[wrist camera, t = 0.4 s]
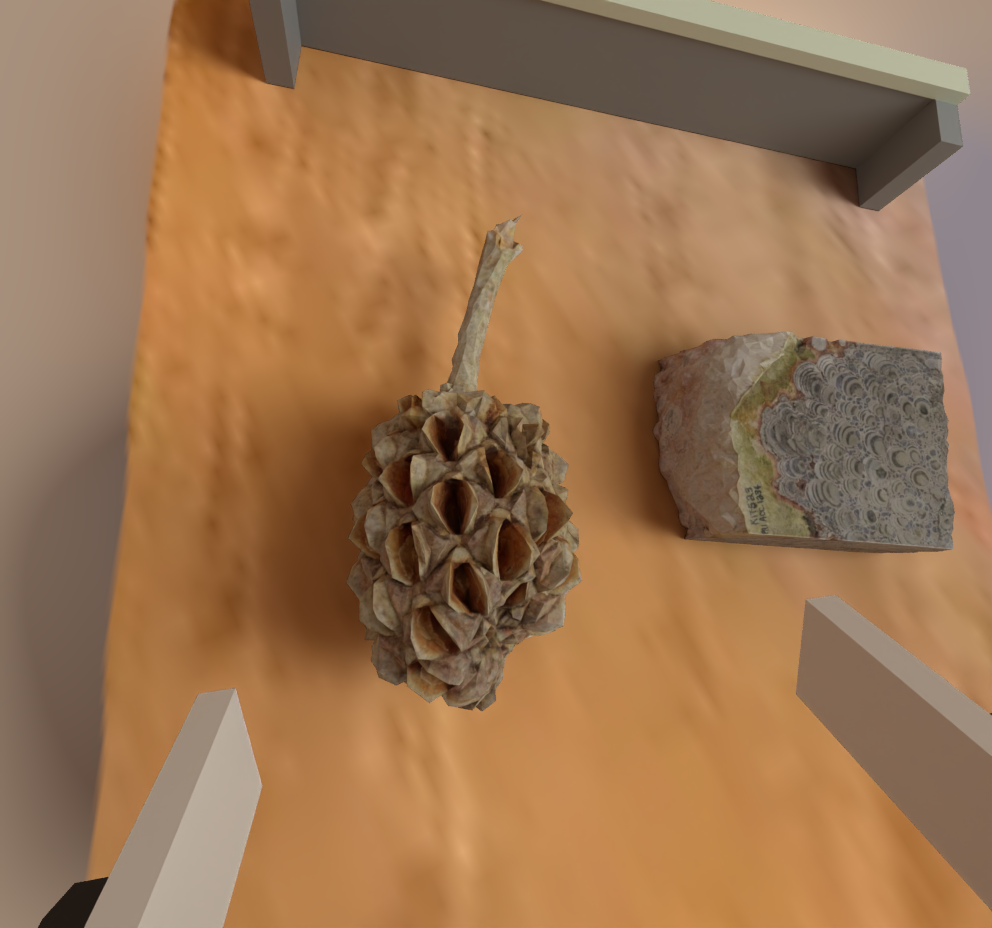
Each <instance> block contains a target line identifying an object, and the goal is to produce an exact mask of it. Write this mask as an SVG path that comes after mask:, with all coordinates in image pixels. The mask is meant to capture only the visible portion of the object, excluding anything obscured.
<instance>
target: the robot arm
mask: <svg viewBox="0 0 992 928" xmlns="http://www.w3.org/2000/svg"><path fill="white" fill-rule="evenodd" d="M796 695H797V696H798V697H799V698H800V699H801V700H802V701H803V702H804V703H805V705H806V706H807V707H808V708H809V709H810V710H811V711H812V712H813V713H814V715H815V716H816V717H817V718H818V719H819V720H820V721H821V722H822V723H823V725H824V726H825V727H826V728H827V729H828V730H829V731H830V732H831V733H832V735H833V736H834V737H835V738H836V739H837V740H838V741H839V742H840V743H841V744H842V746H843V747H844V748H845V749H846V750H847V751H848V752H849V753H850V754H851V756H852V757H853V758H854V759H855V760H856V761H857V762H858V763H859V764H860V766H861V767H862V768H863V769H864V770H865V771H866V772H867V773H868V774H869V776H870V777H871V778H872V779H873V780H874V781H875V782H876V783H877V784H878V785H879V787H880V788H881V789H882V790H883V791H884V792H885V793H886V794H887V795H888V797H889V798H890V799H891V800H892V801H893V802H894V803H895V804H896V805H897V807H898V808H899V809H900V810H901V811H902V812H903V813H904V814H905V815H906V817H907V818H908V819H909V820H910V821H911V822H912V823H913V824H914V825H915V826H916V828H917V829H918V830H919V831H920V832H921V833H922V834H923V835H924V836H925V838H926V839H927V840H928V841H929V842H930V843H931V844H932V845H933V846H934V848H935V849H936V850H937V851H938V852H939V853H940V854H941V855H942V856H943V858H944V859H945V860H946V861H947V862H948V863H949V864H950V865H951V866H952V867H953V869H954V870H955V871H956V872H957V873H958V874H959V875H960V876H961V877H962V879H963V880H964V881H965V882H966V883H967V884H968V885H969V886H970V887H971V889H972V890H973V891H974V892H975V893H976V894H977V895H978V896H979V897H980V899H981V900H982V901H983V902H984V903H985V904H986V905H987V906H988V907H989V908H990V910H991V911H992V713H990V714H989V713H988V712H986V711H985V710H984V709H983V708H981V707H980V706H979V705H977V704H976V703H975V702H974V701H972V700H971V699H970V698H968V697H967V696H966V695H964V694H963V693H962V692H961V691H959V690H958V689H957V688H955V687H954V686H953V685H952V684H950V683H949V682H948V681H946V680H945V679H944V678H942V677H941V676H940V675H939V674H937V673H936V672H935V671H933V670H932V669H931V668H930V667H928V666H927V665H926V664H924V663H923V662H922V661H920V660H919V659H918V658H917V657H915V656H914V655H913V654H911V653H910V652H909V651H908V650H906V649H905V648H904V647H902V646H901V645H900V644H899V643H897V642H896V641H895V640H893V639H892V638H891V637H889V636H888V635H887V634H886V633H884V632H883V631H882V630H880V629H879V628H878V627H877V626H875V625H874V624H873V623H871V622H870V621H869V620H867V619H866V618H865V617H864V616H862V615H861V614H860V613H858V612H857V611H856V610H855V609H853V608H852V607H851V606H849V605H848V604H847V603H845V602H844V601H843V600H842V599H840V598H839V597H838V596H836V595H831V596H825V597H818V598H812V599H806V601H805V611H804V621H803V630H802V640H801V649H800V659H799V669H798V678H797V688H796ZM261 789H262V783H261V779H260V776H259V772H258V768H257V765H256V761H255V757H254V754H253V750H252V746H251V743H250V739H249V735H248V732H247V728H246V724H245V721H244V717H243V714H242V710H241V706H240V703H239V699H238V695H237V692H236V688H232V689H225V690H219V691H213V692H206V693H200V694H198V696H197V698H196V700H195V702H194V704H193V706H192V708H191V710H190V712H189V714H188V716H187V718H186V720H185V722H184V724H183V726H182V728H181V730H180V732H179V734H178V736H177V739H176V741H175V743H174V745H173V747H172V749H171V751H170V753H169V755H168V757H167V759H166V761H165V763H164V765H163V767H162V769H161V771H160V773H159V775H158V777H157V779H156V782H155V784H154V786H153V788H152V790H151V792H150V794H149V796H148V798H147V800H146V802H145V804H144V806H143V808H142V810H141V812H140V814H139V816H138V818H137V820H136V822H135V825H134V827H133V829H132V831H131V833H130V835H129V837H128V839H127V841H126V843H125V845H124V847H123V849H122V851H121V853H120V855H119V857H118V859H117V861H116V863H115V865H114V867H113V870H112V872H111V874H110V876H109V877H106V878H100V879H95V880H89V881H84V882H79V883H75V884H74V885H73V886H72V887H71V888H70V889H69V890H68V891H67V892H66V894H65V895H64V896H63V897H62V898H61V899H60V900H59V901H58V902H57V903H56V905H55V906H54V907H53V908H52V909H51V910H50V911H49V913H48V914H47V915H46V916H45V917H44V918H43V919H42V921H41V923H40V925H39V927H38V928H223V925H224V921H225V918H226V914H227V911H228V907H229V904H230V900H231V896H232V893H233V889H234V886H235V882H236V879H237V875H238V871H239V868H240V864H241V861H242V857H243V854H244V850H245V846H246V843H247V839H248V836H249V832H250V828H251V825H252V821H253V818H254V814H255V811H256V807H257V803H258V800H259V796H260V793H261Z"/></svg>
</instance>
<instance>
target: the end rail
mask: <svg viewBox="0 0 992 928" xmlns="http://www.w3.org/2000/svg"><path fill="white" fill-rule="evenodd" d="M249 3H250V8H251V13H252V18H253V22H254V27H255V32H256V37H257V41H258V46H259V51H260V56H261V61H262V65H263V70H264V75H265V80H266V83H270V84H274V85H279V86H284V87H289V88H293V89H294V86H295V80H296V75H297V69H298V63H299V57H300V51H301V45H302V46H306V47H311V48H315V49H320V50H324V51H329V52H333V53H338V54H342V55H347V56H351V57H356V58H360V59H365V60H369V61H374V62H378V63H383V64H387V65H392V66H396V67H401V68H405V69H410V70H414V71H419V72H423V73H428V74H432V75H437V76H441V77H446V78H450V79H455V80H459V81H464V82H468V83H473V84H477V85H482V86H486V87H491V88H495V89H500V90H504V91H509V92H513V93H518V94H522V95H527V96H531V97H536V98H540V99H545V100H549V101H554V102H558V103H563V104H568V105H572V106H577V107H581V108H586V109H590V110H595V111H599V112H604V113H608V114H613V115H617V116H622V117H626V118H631V119H635V120H640V121H644V122H649V123H653V124H658V125H662V126H667V127H671V128H676V129H680V130H685V131H689V132H694V133H698V134H703V135H707V136H712V137H716V138H721V139H725V140H730V141H734V142H739V143H743V144H748V145H752V146H757V147H761V148H766V149H770V150H775V151H779V152H784V153H788V154H793V155H797V156H802V157H806V158H811V159H815V160H820V161H824V162H829V163H834V164H838V165H843V166H847V167H852V168H856V173H857V184H858V195H859V206H860V207H863V208H868V209H873V210H877V211H879V210H881V209H882V208H883V207H885V206H886V205H887V204H889V203H890V202H891V201H892V200H894V199H895V198H896V197H898V196H899V195H900V194H902V193H903V192H904V191H905V190H907V189H908V188H909V187H911V186H912V185H913V184H915V183H916V182H917V181H918V180H920V179H921V178H922V177H924V176H925V175H926V174H928V173H929V172H930V171H931V170H933V169H934V168H935V167H937V166H938V165H939V164H941V163H942V162H943V161H945V160H946V159H947V158H948V157H950V156H951V155H952V154H954V153H955V152H956V151H957V150H959V149H960V148H961V147H963V141H962V134H961V127H960V120H959V113H958V106H957V105H958V104H959V103H961V102H962V101H963V100H964V99H965V98H966V97H968V96H969V95H970V88H969V82H968V76H967V69H966V68H962V67H958V66H954V65H950V64H947V63H943V62H939V61H935V60H932V59H928V58H924V57H920V56H917V55H913V54H909V53H905V52H902V51H898V50H894V49H890V48H887V47H883V46H879V45H875V44H872V43H868V42H864V41H860V40H856V39H853V38H849V37H845V36H841V35H838V34H834V33H830V32H826V31H823V30H819V29H815V28H811V27H808V26H804V25H800V24H796V23H792V22H789V21H785V20H781V19H777V18H774V17H770V16H766V15H762V14H759V13H755V12H751V11H747V10H743V9H740V8H736V7H732V6H728V5H725V4H721V3H717V2H713V1H710V0H249Z"/></svg>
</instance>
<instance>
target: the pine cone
mask: <svg viewBox="0 0 992 928" xmlns="http://www.w3.org/2000/svg"><path fill="white" fill-rule="evenodd" d="M520 217H521V215H520V216H519V217H517V218H515V219H514V220H508V221H506V222H504V223H502V224H498V225H496V227H495V229H494V230H492V231H487V236H486V240H485V244H484V247H483V251H482V254H481V258H480V261H479V265H478V269H477V274H476V278H475V283H474V287H473V289H472V292H471V295H470V298H469V301H468V306H467V311H466V314H465V317H464V320H463V322H462V325H461V328H460V330H459V333H458V345H457V348H456V350H455V353H454V355H453V358H452V364H453V368H452V372H451V374H450V377H449V379H448V382H447V383H445V384H442V385H441V386H440V392H436V391H433V390H429V389H427V390H425V391H424V392H422V400H421V399H420V398H419V397H418V396H416V395H415V396H411V395H408V396H406V397H404V398H401V399H399V400H397V401H398V407H399V413H400V414H397V415H396V416H394V417H393V418H392V419H391V420H388V421H386V422H383V423H380V424H379V425H377V426H376V427H375V428H373V429H372V430H371V436H372V450H371V451H370V452H369V453H368V454H366V455H365V457H364V459H363V461H362V463H361V464H362V465H363V466H364V468H365V469H366V470H367V471H368V472H369V473H370V474H371V475H372V476H373V477H372V478H371V479H370V481H369V482H368V484H367V485H366V486H365V487H364V488H363V489H362V490H361V491H360V492H359V494H358V495H357V496H356V498H355V499H354V500H353V502H352V503H351V506H352V509H353V511H354V516H353V521H354V522H355V525H354V527H353V529H352V531H351V533H350V535H349V537H348V538H349V539H350V540H351V541H352V542H353V543H354V544H355V545H356V546H357V547H358V548H359V549H360V550H361V552H360V554H359V555H358V557H357V559H358V561H357V562H356V563H355V564H354V565H353V566H352V568H351V571H350V574H349V577H348V580H347V582H346V583H347V584H348V586H349V587H350V588H351V590H352V591H353V592H354V593H355V595H356V596H357V598H358V599H359V601H360V603H359V621H360V622H361V623H363V624H364V625H365V626H366V636H365V640H375V642H374V643H373V645H372V657H371V661H372V663H373V664H374V666H375V667H376V670H377V673H378V676H379V678H381V679H384V680H386V681H388V682H390V683H392V684H394V685H398V684H400V683H402V682H405V683H407V686H408V687H409V688H410V689H412V690H413V691H414V692H416V693H417V694H418V695H420V696H421V697H422V698H424V699H425V700H426V701H427V702H429V703H430V702H432V701H433V700H435V699H436V698H438V697H439V696H441V695H442V697H443V698H444V700H445V702H446V703H447V705H448V706H452V707H458V708H463V709H468V710H473V709H474V708H475V707H477V708H478V709H479V710H481V711H483V710H485V709H486V708H487V707H488V706H490V705H491V704H492V703H493V702H495V701H496V695H495V690H496V688H497V687H498V685H499V684H500V682H501V681H502V678H503V668H504V664H505V658H506V657H507V655H508V654H509V653H510V652H511V651H512V650H513V647H514V646H515V645H516V644H519V643H520V642H521V641H523V640H524V639H525V638H530V637H532V636H534V635H536V636H541V635H544V634H547V633H550V632H553V631H555V630H556V629H557V628H560V627H563V624H564V618H565V606H566V598H565V597H564V596H565V595H566V594H567V593H568V592H569V590H570V589H571V588H573V587H574V586H576V585H577V584H578V583H580V582H581V581H582V579H581V573H580V568H579V562H578V558H577V557H576V556H575V555H574V552H575V551H576V550H577V548H578V544H579V534H578V529H577V528H576V527H575V526H574V525H573V524H572V523H571V522H570V521H569V519H570V517H571V516H572V514H573V512H572V511H571V510H570V509H569V508H568V506H567V505H566V499H567V494H568V490H567V489H566V488H565V487H562V486H558V484H560V483H562V482H564V478H565V475H566V471H567V468H568V464H567V463H566V462H565V461H564V460H563V459H562V457H560V456H559V455H557V454H556V453H554V452H553V451H551V450H550V449H549V447H548V446H547V445H545V444H543V442H544V440H545V439H546V437H547V436H548V434H549V433H550V430H549V424H548V423H547V422H546V421H544V420H543V419H542V416H541V411H540V407H539V406H536V405H533V404H528V403H521V404H518V405H512V404H502V403H501V402H500V401H499V400H498V399H497V398H496V397H495V396H492V397H490V396H489V395H488V394H487V393H486V392H485V391H484V390H483V391H477V381H478V371H479V362H480V354H481V350H482V347H483V344H484V340H485V336H486V332H487V328H488V324H489V320H490V316H491V312H492V307H493V303H494V300H495V297H496V294H497V291H498V288H499V286H500V283H501V281H502V278H503V276H504V273H505V270H506V268H507V265H508V264H509V263H510V262H511V261H512V260H513V259H514V258H515V257H516V256H517V255H518V254H520V253H521V252H522V245H520V244H519V243H516V242H514V233H515V224H516V222H517V221H518V220H519V218H520Z"/></svg>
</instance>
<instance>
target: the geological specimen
mask: <svg viewBox="0 0 992 928" xmlns="http://www.w3.org/2000/svg"><path fill="white" fill-rule="evenodd" d="M659 363H660V365H661V372H660V373H658V374H656V375H655V380H654V387H655V389H656V390H655V393H654V400H655V401H656V403H657V406H656V408H657V413H658V420H659V421H658V422H657V424H656V425H655V427H654V428H653V433H654V437H655V438H656V439H657V440H658V441H659V447H660V457H659V468H660V472H661V474H662V475H663V477H664V478H665V479H666V480H667V482H668V487H669V490H670V492H671V494H672V496H673V498H674V501H675V503H676V505H677V508H678V510H679V512H680V513H679V516H678V518H679V520H680V522H681V525H682V526H684V527H685V528H686V530H687V534H686V537H685V539H689V540H702V541H715V542H728V543H742V544H754V545H767V546H781V547H795V548H811V549H824V550H837V551H851V552H869V553H914V552H937V551H944V550H952V549H954V548H953V540H952V531H953V519H954V514H955V512H954V505H953V502H952V499H951V496H950V493H949V490H948V474H947V455H948V446H949V444H948V442H947V437H948V418H947V416H946V413H945V410H944V404H943V394H944V382H943V374H942V370H941V367H942V358H941V353H940V352H933V351H925V350H917V349H909V348H901V347H892V346H883V345H875V344H865V343H858V342H851V341H845V340H837V341H834V342H828V341H827V339H824V338H821V337H814V336H812V337H808V338H804V339H803V338H799V337H796V336H795V335H794V333H793V332H778V333H768V334H749V335H744V336H732V337H731V338H729V339H713V340H709V341H706V342H705V343H703V344H702V345H700V346H698V347H696V348H693V349H690V350H683V351H681V352H680V353H679V354H675V355H672V356H668V357H665V358H663V359H661V360H659Z"/></svg>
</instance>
